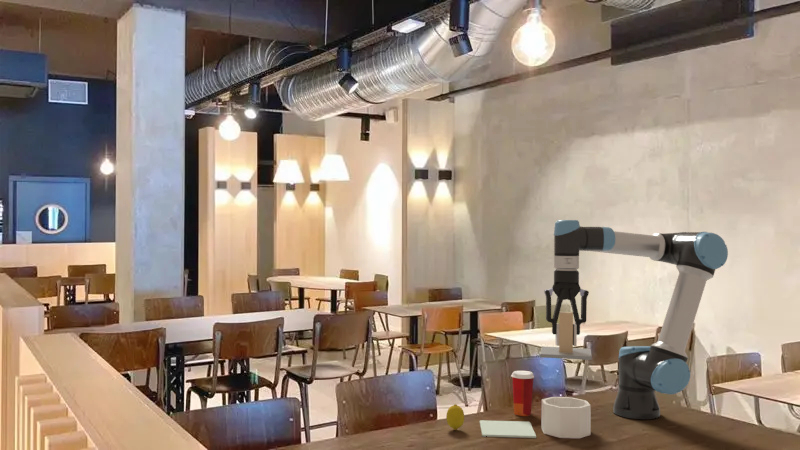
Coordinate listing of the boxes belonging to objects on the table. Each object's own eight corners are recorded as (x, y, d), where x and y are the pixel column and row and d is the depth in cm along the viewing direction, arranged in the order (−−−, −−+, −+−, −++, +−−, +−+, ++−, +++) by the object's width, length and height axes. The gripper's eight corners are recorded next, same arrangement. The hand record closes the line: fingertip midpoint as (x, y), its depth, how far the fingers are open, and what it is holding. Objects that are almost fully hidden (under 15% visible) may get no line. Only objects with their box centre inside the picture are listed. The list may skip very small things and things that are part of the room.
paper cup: (533, 411, 239) (533, 370, 239) (535, 417, 231) (535, 375, 232) (509, 410, 240) (510, 369, 240) (511, 416, 232) (511, 374, 232)
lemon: (452, 433, 211) (452, 407, 211) (442, 428, 216) (443, 403, 216) (467, 431, 214) (467, 405, 214) (458, 426, 219) (458, 401, 219)
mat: (529, 423, 224) (529, 421, 224) (536, 438, 208) (536, 436, 208) (479, 422, 225) (479, 420, 225) (482, 436, 209) (482, 434, 209)
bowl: (584, 425, 221) (584, 397, 222) (593, 438, 207) (593, 408, 208) (539, 424, 222) (539, 396, 222) (545, 437, 208) (546, 407, 208)
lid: (590, 351, 220) (590, 310, 220) (591, 360, 205) (592, 315, 206) (542, 349, 224) (542, 309, 224) (540, 357, 209) (540, 313, 209)
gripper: (539, 269, 212) (538, 346, 212) (597, 270, 211) (597, 347, 211) (536, 268, 220) (535, 342, 220) (592, 269, 219) (592, 343, 218)
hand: (565, 344), depth 215 cm, fingers closed on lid, 4 cm apart
